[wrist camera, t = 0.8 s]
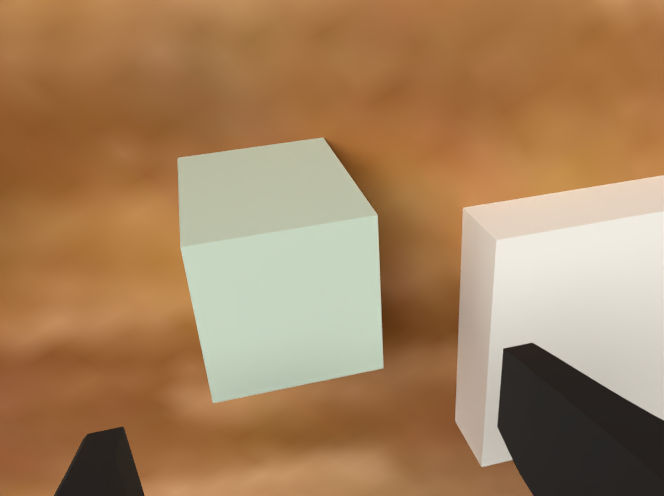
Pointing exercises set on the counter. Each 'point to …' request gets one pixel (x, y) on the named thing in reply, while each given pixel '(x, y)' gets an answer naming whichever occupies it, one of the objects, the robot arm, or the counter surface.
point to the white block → (562, 296)
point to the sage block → (279, 267)
